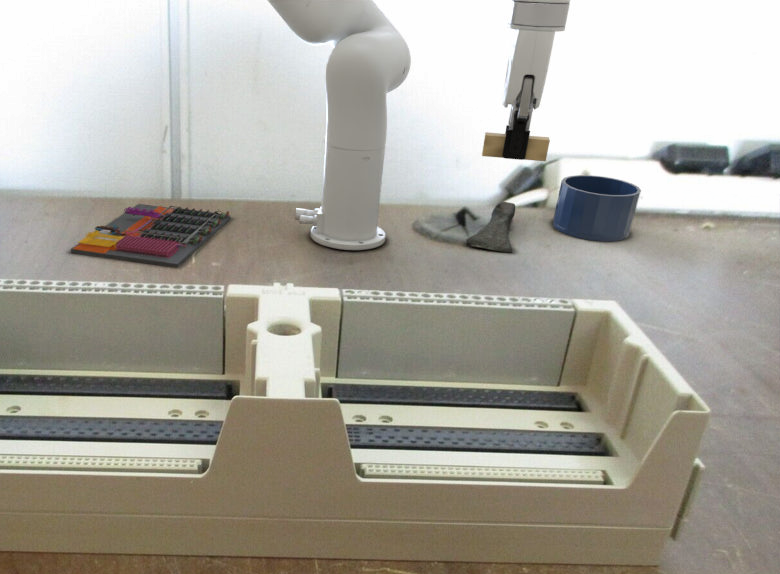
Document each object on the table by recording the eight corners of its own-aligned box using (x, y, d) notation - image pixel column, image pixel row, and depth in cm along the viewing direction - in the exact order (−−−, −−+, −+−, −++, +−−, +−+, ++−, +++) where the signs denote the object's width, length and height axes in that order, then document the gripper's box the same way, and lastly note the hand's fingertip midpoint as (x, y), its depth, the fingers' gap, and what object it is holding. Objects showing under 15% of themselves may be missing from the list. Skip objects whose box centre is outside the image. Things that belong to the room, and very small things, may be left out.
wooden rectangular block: (481, 156, 112) (485, 135, 110) (482, 153, 113) (485, 132, 112) (545, 161, 110) (549, 140, 108) (544, 158, 112) (549, 137, 110)
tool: (509, 261, 126) (514, 244, 125) (463, 250, 128) (467, 234, 126) (522, 214, 142) (527, 198, 140) (482, 205, 144) (485, 189, 142)
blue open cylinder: (556, 236, 134) (566, 191, 130) (549, 214, 146) (558, 172, 142) (635, 244, 132) (647, 199, 128) (621, 221, 144) (633, 179, 140)
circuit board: (177, 267, 115) (177, 250, 113) (71, 252, 118) (69, 235, 117) (230, 218, 136) (230, 203, 134) (138, 206, 139) (137, 191, 138)
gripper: (508, 11, 110) (487, 142, 119) (509, 20, 96) (486, 167, 106) (562, 14, 108) (537, 146, 118) (571, 23, 95) (542, 172, 104)
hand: (513, 155), depth 112 cm, fingers closed on wooden rectangular block, 2 cm apart
